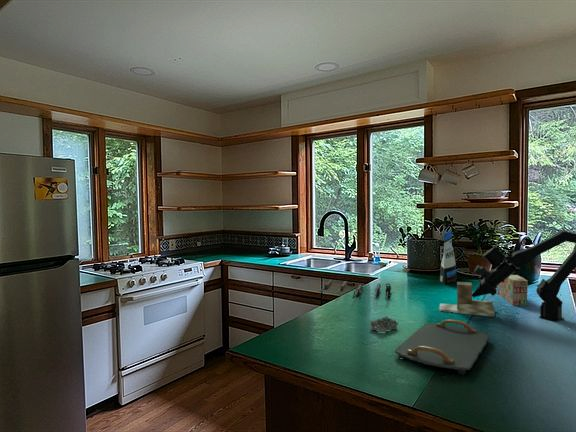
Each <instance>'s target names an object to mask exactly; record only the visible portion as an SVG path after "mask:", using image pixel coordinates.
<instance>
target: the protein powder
mask: <svg viewBox="0 0 576 432" xmlns="http://www.w3.org/2000/svg"><path fill="white" fill-rule="evenodd" d="M452 231H453V230H452V229H451V230H449V231H447V232H445V233H443V255H442V259H441V263H440V273H439V282H440V283H441V284H442V285H449V284H450V285H451V284H455V283H457V282H458V280H457V278H458V276H457V265H456V258H455V257H456V256H455V252H454V247H453V245H452V241H453V238H452V236H453V234H452Z"/></svg>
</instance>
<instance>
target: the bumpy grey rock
mask: <svg viewBox="0 0 576 432" xmlns="http://www.w3.org/2000/svg"><path fill="white" fill-rule="evenodd" d="M399 324H400V323H399V322H397V321H396V320H395V319H392V318H389V317H388V316H384V317H381V318H378V319H375V320H370V321H369V322H368V325H370V330H371V329H372V330H378V331H376V332H377V333H378V332H385V333H387V332H386V330H389V331H391V332H392V330H391V329H397V330H398V328H397V327H398V325H399ZM378 325H379V326H378Z"/></svg>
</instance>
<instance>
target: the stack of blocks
mask: <svg viewBox="0 0 576 432" xmlns="http://www.w3.org/2000/svg"><path fill="white" fill-rule="evenodd" d="M528 281H529V280H527V279H525V278H524V277H523V276H520V275H518V274H512V275H510V276H509V277H508V278H506V279H505V282H501V283H500V284H499V285H498V286H497V288H496V289H497V295H498V296H499V297H501V298H502V299H503V300H505V301H506V302H508V304H510V305H511V306H514V307H515V306H517V307H518V306H519V307H520V306H521V307H525V306H526V307H528V283H529V282H528Z"/></svg>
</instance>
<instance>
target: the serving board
mask: <svg viewBox="0 0 576 432" xmlns="http://www.w3.org/2000/svg"><path fill="white" fill-rule="evenodd" d="M451 324H454V325H451ZM455 324H456V325H455ZM458 325H460V326H458ZM489 339H491V336H490V334H488V333H485V332H481V331H478V330H477V329H474V328H473V327H472V326H471V325H469V324H468V323H467V322H466V321H463V320H458V319H445V320H443V321H441V322H440V323H439V322H437V323H433V322H429V323H424V324H423V325H421V327H420V328H418V329H417V330H416V331H415V332H413V334H411V335H410V336H409V337H408V338H407V339H405V340H404V341H403V342H402V343H401V344H400V345H398V347H396V348H395V350H394V353H395V354H397V355H398V356H397V357H399V358H405V359H408V360H411V361H414V362H418V363H420V364H424V365H428V366H433V367H437V368H442V369H443V368H444V369H451V370H457V374H458V373H459V375H460V374H461V375H460V376H465V375H466V371H470V370H471V368H473V365H474V363H475V362H476V361H477V360H478V357H479V355H480V354H481V353H483V350H484V348H485V347H486V346H487V343H488V341H490V340H489ZM399 358H398V359H399ZM464 374H465V375H464Z"/></svg>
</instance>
